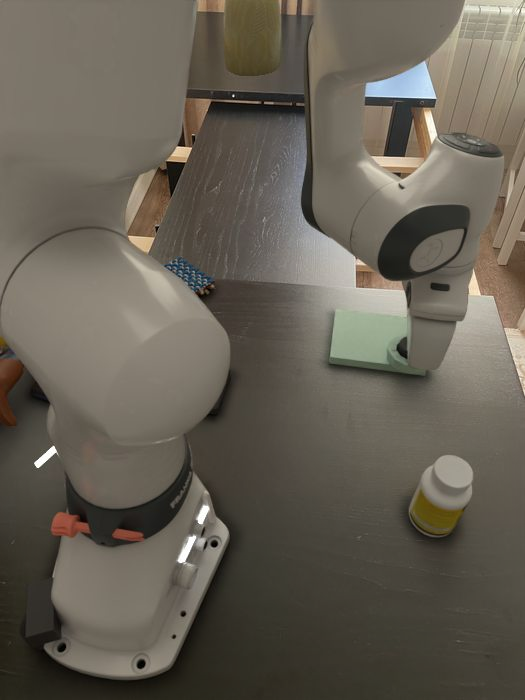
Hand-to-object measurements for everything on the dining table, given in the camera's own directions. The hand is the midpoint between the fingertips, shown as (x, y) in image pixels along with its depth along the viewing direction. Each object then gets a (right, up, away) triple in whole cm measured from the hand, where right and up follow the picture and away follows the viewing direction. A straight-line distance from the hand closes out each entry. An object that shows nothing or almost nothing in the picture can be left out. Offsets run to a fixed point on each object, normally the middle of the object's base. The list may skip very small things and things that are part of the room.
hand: (412, 344), depth 76 cm
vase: (-24, +84, +89) cm, 125 cm away
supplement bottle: (-2, -20, -14) cm, 25 cm away
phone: (-27, -7, -2) cm, 27 cm away
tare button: (0, -1, +1) cm, 2 cm away
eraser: (-49, -6, -3) cm, 49 cm away
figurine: (-57, -9, -10) cm, 59 cm away
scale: (-4, 0, +6) cm, 7 cm away
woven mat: (-37, +10, +15) cm, 41 cm away
